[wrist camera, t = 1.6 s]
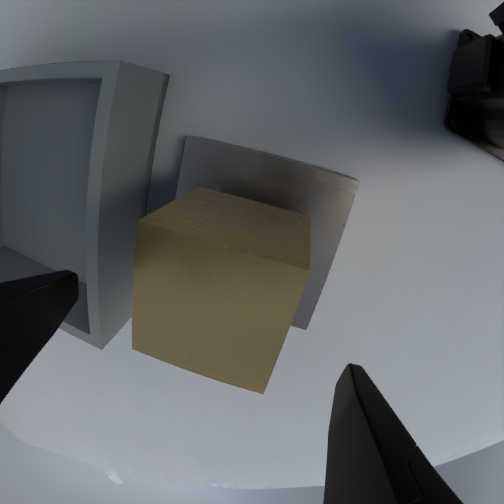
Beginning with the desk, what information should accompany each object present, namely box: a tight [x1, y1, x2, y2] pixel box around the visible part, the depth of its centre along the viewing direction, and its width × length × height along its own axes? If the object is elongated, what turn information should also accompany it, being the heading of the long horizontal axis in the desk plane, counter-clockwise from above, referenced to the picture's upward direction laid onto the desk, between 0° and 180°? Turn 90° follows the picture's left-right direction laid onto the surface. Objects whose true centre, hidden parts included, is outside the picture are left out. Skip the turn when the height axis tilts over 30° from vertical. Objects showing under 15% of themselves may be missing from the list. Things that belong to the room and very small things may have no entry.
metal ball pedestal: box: [175, 137, 359, 330], centre depth 14 cm, size 9×9×8 cm
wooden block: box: [132, 187, 312, 394], centre depth 12 cm, size 5×5×6 cm
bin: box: [0, 61, 169, 350], centre depth 17 cm, size 16×16×5 cm
